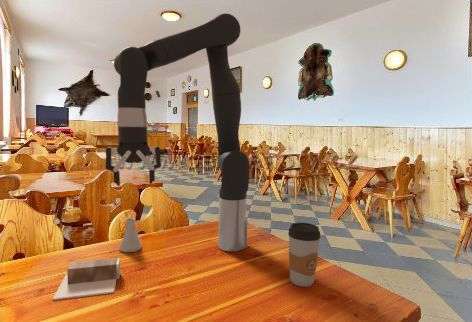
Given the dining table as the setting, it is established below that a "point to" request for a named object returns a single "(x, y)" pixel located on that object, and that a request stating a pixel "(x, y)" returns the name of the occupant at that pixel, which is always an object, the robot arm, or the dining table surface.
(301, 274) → the coffee cup
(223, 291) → the dining table surface
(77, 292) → the mat
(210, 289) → the dining table surface
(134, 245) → the flask
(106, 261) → the grey metallic bar
